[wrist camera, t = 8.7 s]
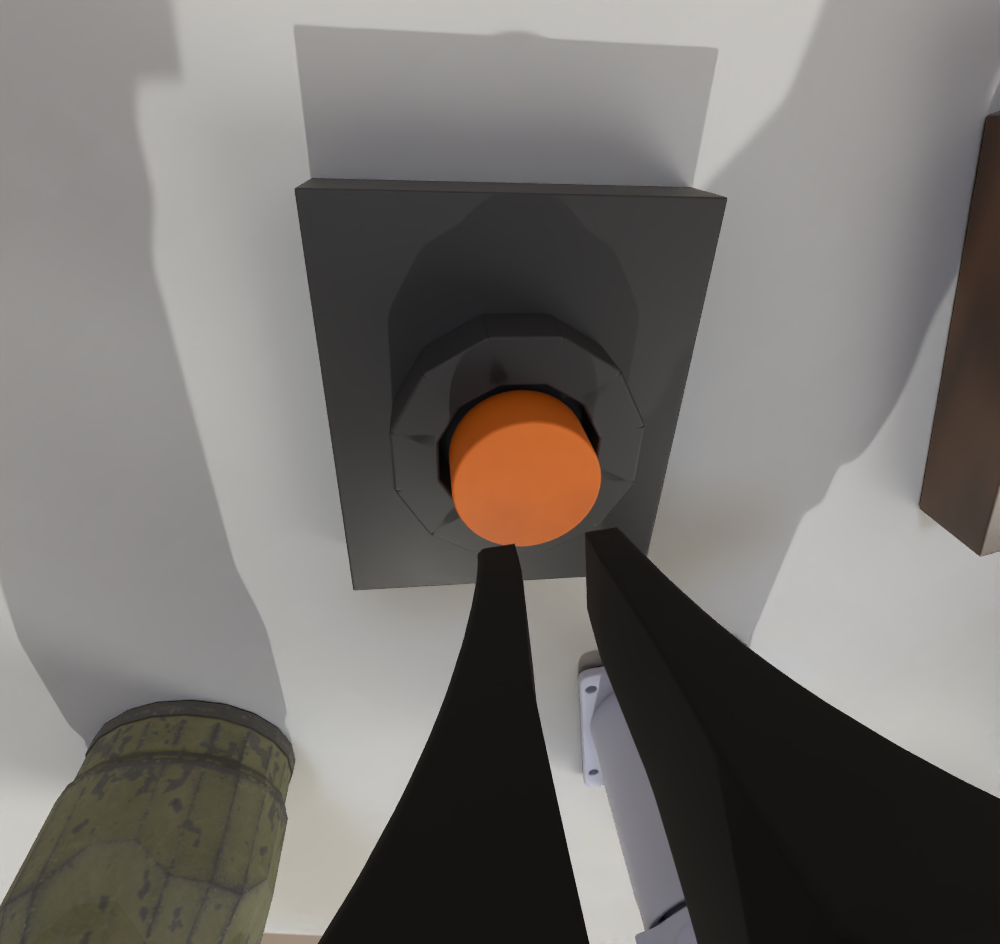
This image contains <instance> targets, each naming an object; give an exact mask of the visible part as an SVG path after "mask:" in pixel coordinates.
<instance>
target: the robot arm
mask: <svg viewBox="0 0 1000 944" xmlns="http://www.w3.org/2000/svg"><path fill="white" fill-rule="evenodd" d="M585 553H586V585H587V610H588V613H589V617H590V621H591V625H592V628H593V632H594V636H595V639H596V643H597V647H598V650H599V654H600V657H601V660H602V662H603V665H604V666H603V667H597V668H591V669H587V670H584V671H583V672H581V673H580V675H579V677H578V681H579V702H580V723H581V744H582V765H583V779H584V783H585V785H587V786H589V787H595V786H600V785H604V786H605V789H606V793H607V797H608V800H609V804H610V808H611V811H612V815H613V819H614V823H615V826H616V830H617V834H618V837H619V841H620V845H621V848H622V852H623V856H624V859H625V863H626V867H627V870H628V874H629V878H630V882H631V885H632V889H633V893H634V896H635V900H636V902H637V905H638V908H639V910H640V914H641V918H642V921H643V925H644V929H645V932H642V933H639V934H637V935H636V936H635V939H636V943H637V944H1000V799H999V798H997V797H995V796H993V795H991V794H989V793H987V792H985V791H983V790H981V789H979V788H977V787H975V786H973V785H971V784H969V783H966V782H965V781H963V780H961V779H959V778H957V777H955V776H953V775H951V774H949V773H947V772H946V771H944V770H942V769H940V768H938V767H936V766H935V765H933V764H931V763H929V762H927V761H925V760H924V759H922V758H920V757H918V756H916V755H914V754H912V753H911V752H909V751H907V750H905V749H903V748H901V747H900V746H898V745H896V744H894V743H893V742H891V741H889V740H888V739H886V738H884V737H883V736H881V735H879V734H878V733H876V732H874V731H873V730H871V729H869V728H868V727H866V726H864V725H863V724H861V723H859V722H858V721H856V720H854V719H853V718H851V717H850V716H848V715H846V714H845V713H843V712H841V711H840V710H838V709H836V708H835V707H833V706H831V705H830V704H828V703H826V702H825V701H823V700H822V699H820V698H819V697H817V696H816V695H814V694H813V693H811V692H810V691H808V690H807V689H805V688H804V687H802V686H801V685H799V684H798V683H796V682H795V681H793V680H792V679H791V678H789V677H788V676H786V675H785V674H784V673H782V672H781V671H779V670H778V669H777V668H775V667H774V666H772V665H771V664H770V663H768V662H767V661H766V660H764V659H763V658H762V657H760V656H759V655H758V654H756V653H755V652H754V651H752V650H751V649H750V648H749V647H748V646H747V645H746V644H743V643H742V642H741V641H739V640H738V639H737V638H736V637H735V636H733V635H732V634H731V633H730V632H728V631H727V630H726V629H725V628H724V627H722V626H721V625H720V624H719V623H717V622H716V621H715V620H714V619H713V618H712V617H710V616H709V615H708V614H707V613H706V612H705V611H703V610H702V609H701V608H700V607H699V606H698V605H697V604H696V603H694V602H693V601H692V600H691V599H690V598H689V597H688V596H687V595H686V594H685V593H683V592H682V591H681V590H680V589H679V588H678V587H677V586H676V585H675V584H674V583H673V582H672V581H670V580H669V579H668V578H667V577H666V576H665V575H664V574H663V573H662V572H661V571H660V570H659V569H658V568H657V567H656V566H655V565H654V564H653V563H652V562H651V561H650V560H649V559H648V558H647V557H646V556H645V555H644V554H643V553H642V552H641V551H640V550H639V549H638V548H637V547H636V546H635V544H634V543H633V542H632V541H631V540H630V539H629V538H628V537H627V536H626V535H625V534H624V533H623V532H622V531H621V530H620V529H618V528H617V527H615V528H608V529H602V530H596V531H590V532H585ZM477 556H478V567H477V578H476V585H475V591H474V597H473V602H472V607H471V611H470V615H469V619H468V623H467V628H466V632H465V636H464V640H463V643H462V647H461V650H460V653H459V656H458V659H457V662H456V666H455V669H454V672H453V675H452V678H451V681H450V684H449V687H448V690H447V693H446V695H445V698H444V701H443V704H442V706H441V709H440V711H439V714H438V717H437V719H436V721H435V724H434V726H433V729H432V731H431V734H430V736H429V738H428V741H427V743H426V745H425V748H424V750H423V752H422V754H421V756H420V759H419V761H418V763H417V765H416V767H415V769H414V772H413V774H412V776H411V778H410V780H409V783H408V785H407V787H406V789H405V791H404V793H403V795H402V797H401V799H400V801H399V803H398V805H397V807H396V809H395V811H394V813H393V814H392V816H391V818H390V820H389V822H388V824H387V825H386V827H385V829H384V831H383V833H382V835H381V837H380V838H379V840H378V842H377V844H376V846H375V848H374V849H373V851H372V853H371V855H370V857H369V859H368V861H367V862H366V864H365V866H364V868H363V870H362V872H361V873H360V875H359V877H358V878H357V880H356V882H355V884H354V885H353V887H352V889H351V890H350V892H349V894H348V895H347V897H346V899H345V900H344V902H343V903H342V905H341V907H340V908H339V910H338V912H337V913H336V915H335V916H334V918H333V920H332V921H331V923H330V925H329V926H328V928H327V929H326V931H325V933H324V934H323V936H322V938H321V939H320V941H319V943H318V944H589V940H588V936H587V931H586V927H585V922H584V918H583V914H582V909H581V905H580V900H579V896H578V892H577V887H576V883H575V878H574V874H573V869H572V865H571V861H570V856H569V852H568V847H567V843H566V838H565V833H564V829H563V824H562V820H561V815H560V811H559V806H558V802H557V797H556V792H555V788H554V783H553V779H552V774H551V769H550V765H549V760H548V755H547V751H546V746H545V741H544V736H543V732H542V727H541V722H540V717H539V713H538V708H537V703H536V694H535V683H534V673H533V664H532V655H531V646H530V638H529V629H528V621H527V612H526V603H525V595H524V586H523V577H522V569H521V566H520V562H519V558H518V554H517V550H516V547H515V544H509V545H502V546H496V547H490V548H484V549H482V550H481V551H480V552H479V553H478V554H477Z"/></svg>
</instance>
